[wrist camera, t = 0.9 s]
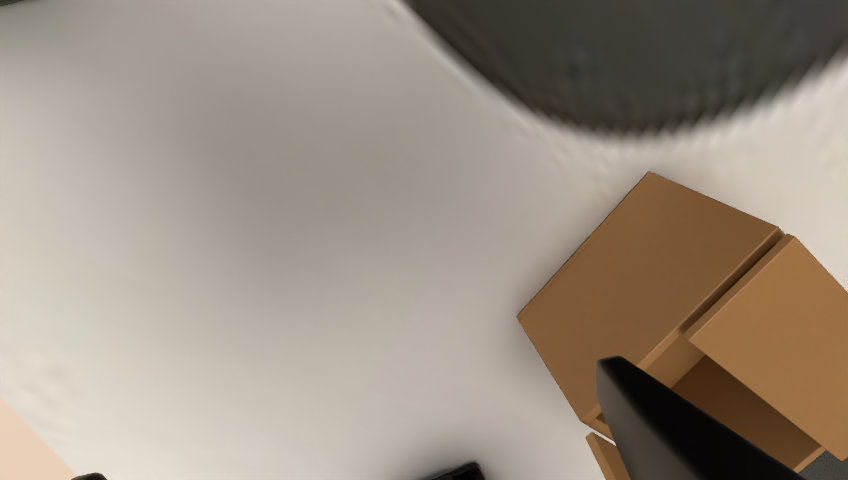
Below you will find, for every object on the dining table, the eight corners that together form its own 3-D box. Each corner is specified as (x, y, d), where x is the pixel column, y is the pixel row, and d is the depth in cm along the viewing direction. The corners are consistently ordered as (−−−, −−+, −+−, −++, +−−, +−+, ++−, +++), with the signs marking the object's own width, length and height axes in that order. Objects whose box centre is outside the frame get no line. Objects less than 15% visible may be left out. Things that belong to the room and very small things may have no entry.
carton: (648, 406, 33) (754, 533, 24) (515, 317, 28) (588, 435, 20) (772, 288, 30) (937, 385, 22) (649, 170, 26) (797, 234, 17)
